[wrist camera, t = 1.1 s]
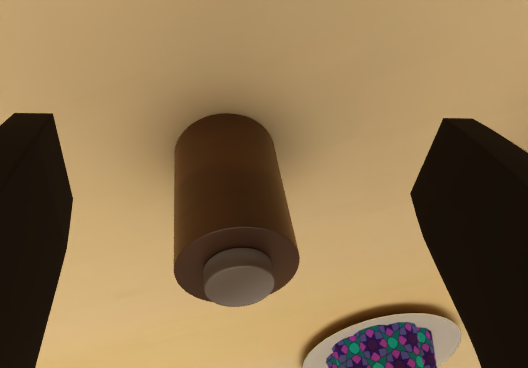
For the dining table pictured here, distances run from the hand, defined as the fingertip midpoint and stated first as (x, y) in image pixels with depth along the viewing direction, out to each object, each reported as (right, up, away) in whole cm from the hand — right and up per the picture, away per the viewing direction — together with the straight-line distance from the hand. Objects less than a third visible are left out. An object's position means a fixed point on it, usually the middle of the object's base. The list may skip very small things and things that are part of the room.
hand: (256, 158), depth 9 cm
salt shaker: (-2, +1, +12) cm, 12 cm away
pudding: (+9, -13, +27) cm, 31 cm away
